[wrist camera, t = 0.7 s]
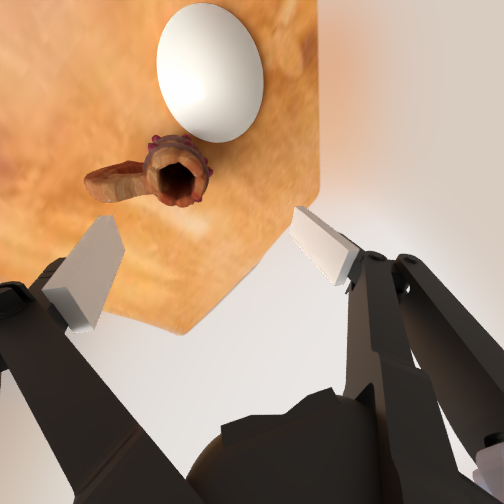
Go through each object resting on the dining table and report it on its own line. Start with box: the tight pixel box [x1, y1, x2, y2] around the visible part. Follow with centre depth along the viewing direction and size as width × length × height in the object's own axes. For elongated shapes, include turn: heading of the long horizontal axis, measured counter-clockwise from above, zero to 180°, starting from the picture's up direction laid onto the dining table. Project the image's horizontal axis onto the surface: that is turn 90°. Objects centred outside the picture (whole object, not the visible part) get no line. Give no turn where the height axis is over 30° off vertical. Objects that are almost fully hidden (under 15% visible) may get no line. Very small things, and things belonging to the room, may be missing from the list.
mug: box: [84, 134, 213, 208], centre depth 27 cm, size 15×8×15 cm, turn 91°
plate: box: [157, 3, 263, 143], centre depth 29 cm, size 15×15×1 cm
